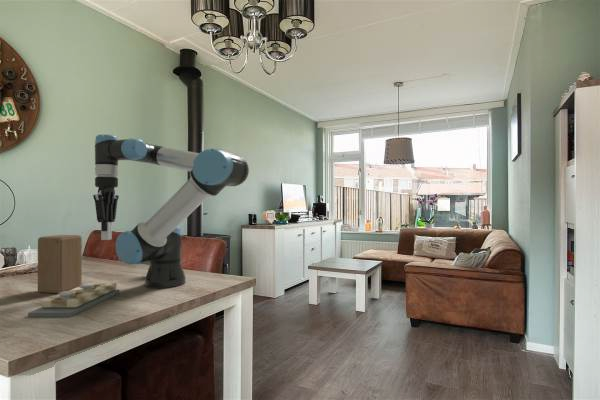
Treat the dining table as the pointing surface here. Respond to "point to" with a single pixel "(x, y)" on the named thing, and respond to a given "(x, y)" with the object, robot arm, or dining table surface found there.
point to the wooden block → (59, 263)
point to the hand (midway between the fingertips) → (106, 239)
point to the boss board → (70, 310)
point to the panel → (80, 296)
